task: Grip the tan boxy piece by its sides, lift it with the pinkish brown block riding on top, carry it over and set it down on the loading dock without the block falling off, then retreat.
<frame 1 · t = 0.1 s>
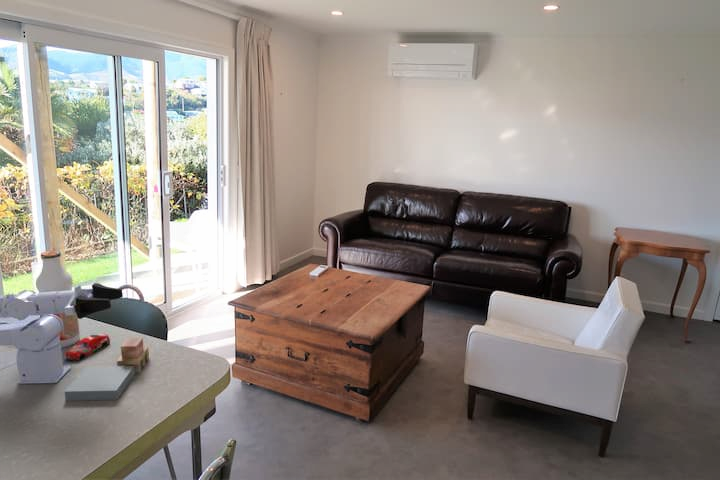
hand: (116, 298, 125), 22 cm above the table, tool horizontal, fingers open, 7 cm apart
race car: (88, 352, 143), on the table
dock: (102, 386, 124), on the table
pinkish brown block: (132, 353, 134), point 3 cm above the table, touching tan boxy piece
fruit juice: (62, 342, 147), on the table
tan boxy piece: (134, 365, 135), on the table, touching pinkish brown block
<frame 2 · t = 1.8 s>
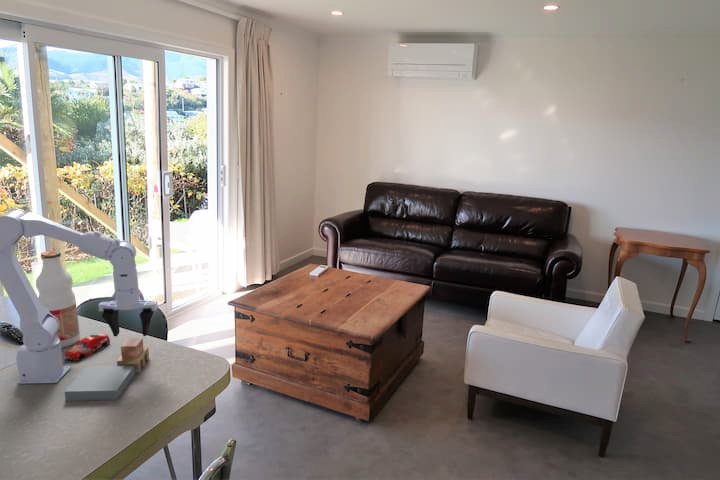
hand: (131, 334, 133), 9 cm above the table, tool pointing down, fingers open, 7 cm apart
nothing on the table moved.
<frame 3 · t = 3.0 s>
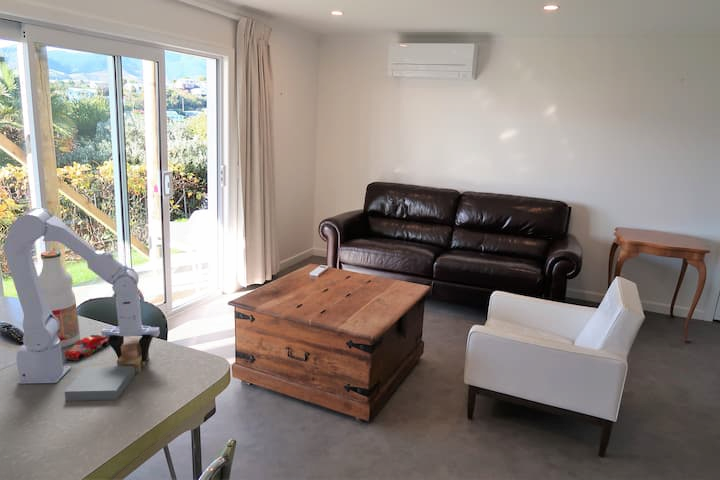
hand: (133, 359, 135), 2 cm above the table, tool pointing down, fingers closed on tan boxy piece, 5 cm apart
tan boxy piece: (134, 365, 135), on the table, touching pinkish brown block, gripper
everything else where it was.
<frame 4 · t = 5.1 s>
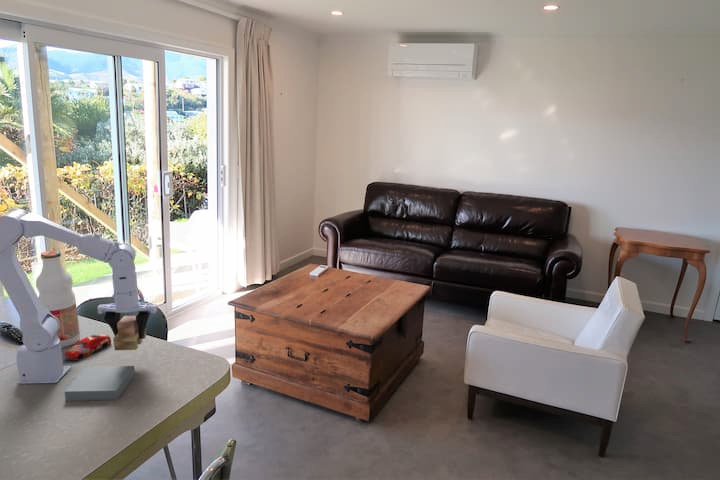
hand: (130, 337, 133), 9 cm above the table, tool pointing down, fingers closed on tan boxy piece, 5 cm apart
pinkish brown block: (129, 331, 132), point 10 cm above the table, touching tan boxy piece
tan boxy piece: (130, 343, 133), point 7 cm above the table, touching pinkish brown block, gripper
everything else where it was.
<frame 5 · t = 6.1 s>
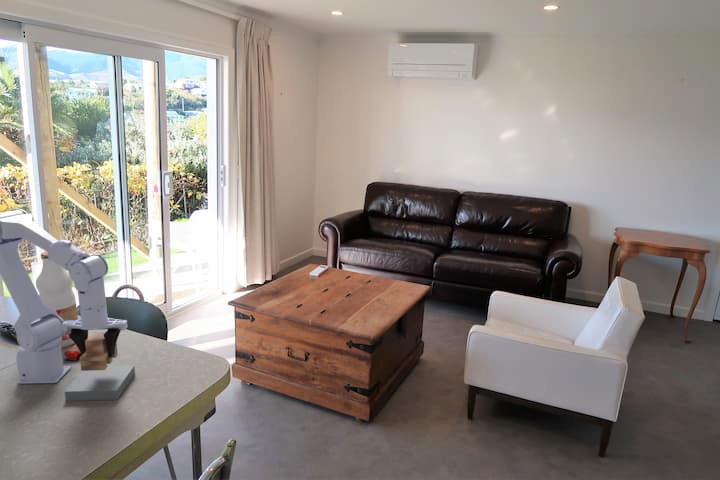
hand: (98, 356, 122), 9 cm above the table, tool pointing down, fingers closed on tan boxy piece, 5 cm apart
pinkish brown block: (99, 349, 122), point 10 cm above the table, touching tan boxy piece
tan boxy piece: (100, 362, 123), point 7 cm above the table, touching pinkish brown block, gripper
everything else where it was.
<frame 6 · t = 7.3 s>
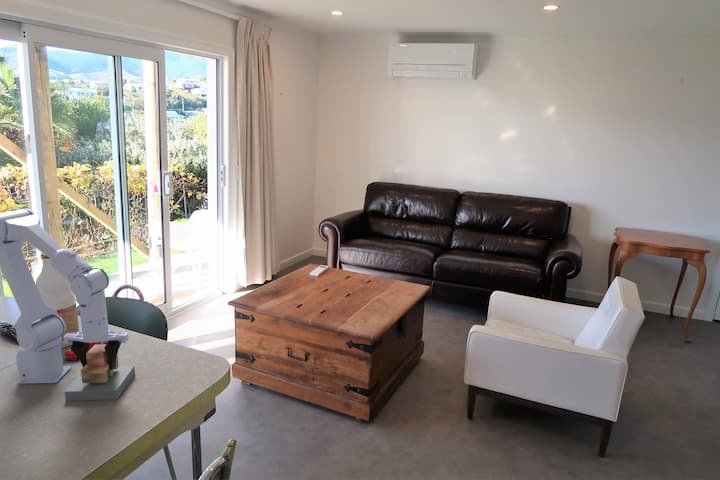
hand: (99, 368, 123), 5 cm above the table, tool pointing down, fingers closed on tan boxy piece, 5 cm apart
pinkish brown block: (100, 361, 123), point 7 cm above the table, touching tan boxy piece
tan boxy piece: (101, 374, 124), point 3 cm above the table, touching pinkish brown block, gripper
everything else where it was.
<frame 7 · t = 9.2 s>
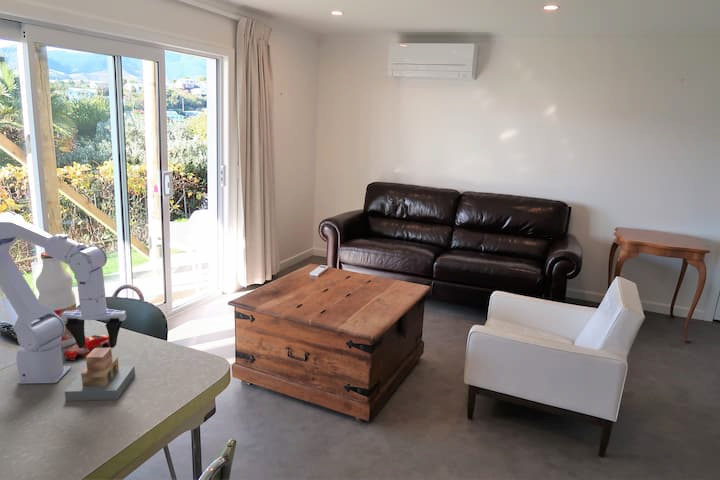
hand: (97, 346, 124), 10 cm above the table, tool pointing down, fingers open, 7 cm apart
tan boxy piece: (101, 377, 124), point 2 cm above the table, touching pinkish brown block, dock
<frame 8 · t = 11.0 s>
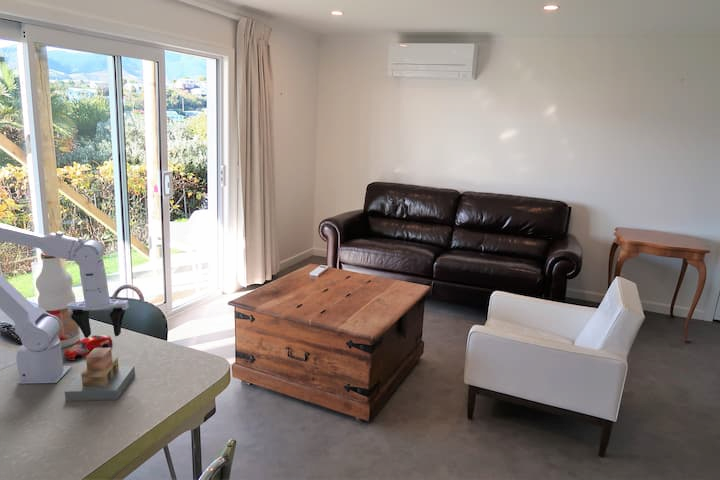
hand: (103, 335, 129), 10 cm above the table, tool pointing down, fingers open, 7 cm apart
nothing on the table moved.
at the end: tan boxy piece inside the target area on the dock (0.2 cm from its centre), point 2.5 cm above the dock's base; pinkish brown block 0.1 cm off-centre on the tan boxy piece, point 3.5 cm above the tan boxy piece's base; the gripper is holding nothing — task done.
